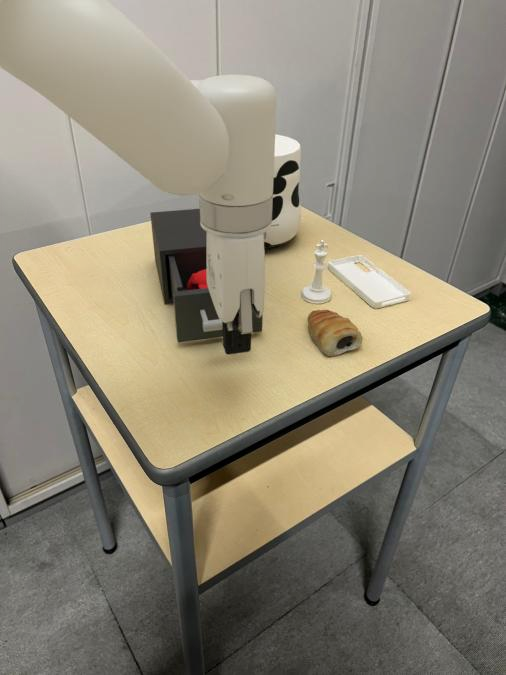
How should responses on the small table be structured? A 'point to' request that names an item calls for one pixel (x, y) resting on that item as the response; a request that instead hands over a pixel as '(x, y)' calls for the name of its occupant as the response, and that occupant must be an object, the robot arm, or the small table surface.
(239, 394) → the small table surface
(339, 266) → the phone case
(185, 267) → the drawer
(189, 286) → the red rounded lump
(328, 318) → the pastry
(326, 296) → the chess piece
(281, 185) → the milk container
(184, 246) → the cabinet
